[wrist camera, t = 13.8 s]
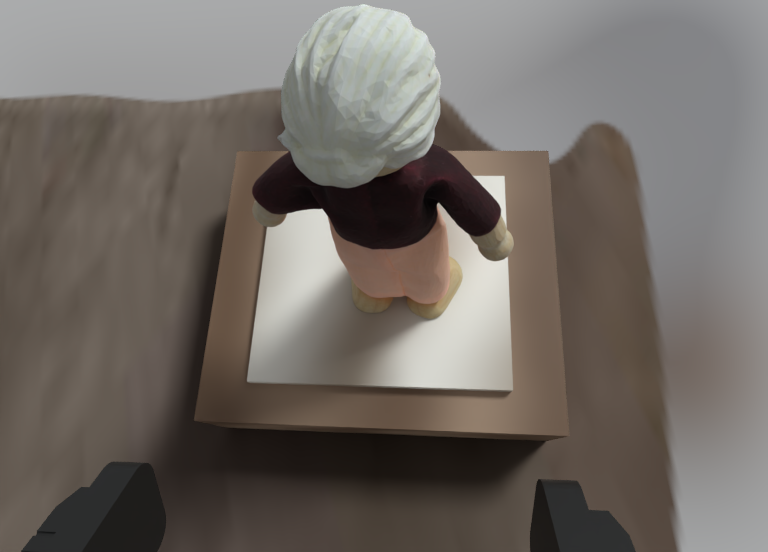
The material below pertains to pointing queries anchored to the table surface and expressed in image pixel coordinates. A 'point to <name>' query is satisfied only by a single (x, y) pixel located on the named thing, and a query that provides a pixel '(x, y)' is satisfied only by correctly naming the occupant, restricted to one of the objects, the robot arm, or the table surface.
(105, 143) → the table surface
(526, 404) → the stand
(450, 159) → the grandmother figurine
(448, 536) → the table surface
